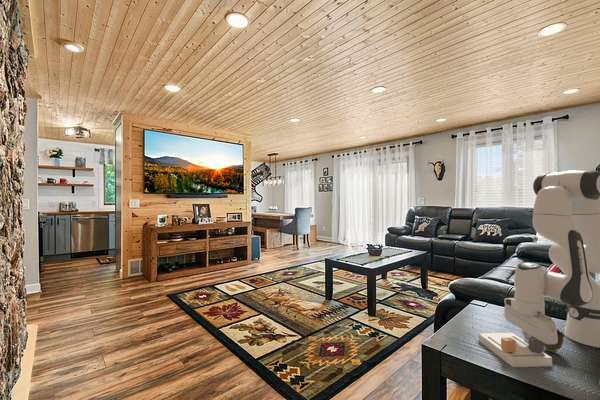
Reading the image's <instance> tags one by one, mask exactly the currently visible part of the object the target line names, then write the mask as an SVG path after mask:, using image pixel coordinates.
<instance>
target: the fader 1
mask: <svg viewBox="0 0 600 400" xmlns="http://www.w3.org/2000/svg"><path fill="white" fill-rule="evenodd" d="M501 349H502V350H504V351H505V352H516V341H515V340H514V339H512V338H501Z"/></svg>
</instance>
